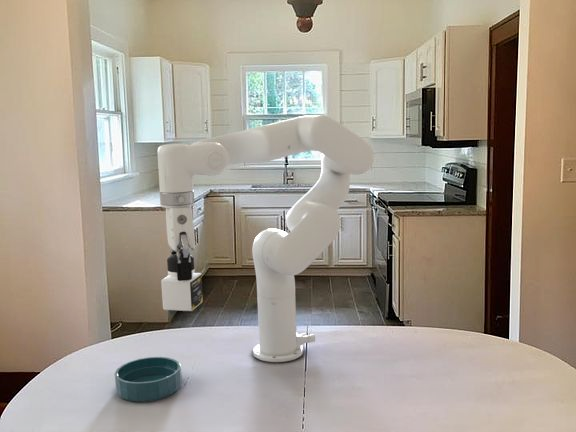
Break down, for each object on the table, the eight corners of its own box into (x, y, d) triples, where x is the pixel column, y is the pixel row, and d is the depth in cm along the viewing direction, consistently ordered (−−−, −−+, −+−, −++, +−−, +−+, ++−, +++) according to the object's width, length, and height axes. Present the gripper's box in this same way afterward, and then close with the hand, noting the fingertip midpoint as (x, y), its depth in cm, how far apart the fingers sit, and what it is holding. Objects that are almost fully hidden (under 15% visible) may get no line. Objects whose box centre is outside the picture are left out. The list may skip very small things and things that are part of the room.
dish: (175, 370, 143) (174, 352, 142) (187, 395, 130) (186, 376, 129) (113, 381, 138) (112, 363, 137) (119, 408, 125) (117, 388, 124)
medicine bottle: (192, 311, 135) (189, 259, 133) (162, 310, 136) (159, 258, 134) (203, 302, 142) (200, 252, 140) (174, 301, 143) (171, 251, 141)
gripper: (201, 202, 128) (205, 282, 131) (186, 194, 144) (190, 265, 147) (166, 205, 126) (171, 287, 128) (155, 196, 142) (159, 269, 145)
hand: (181, 275), depth 138 cm, fingers closed on medicine bottle, 7 cm apart
